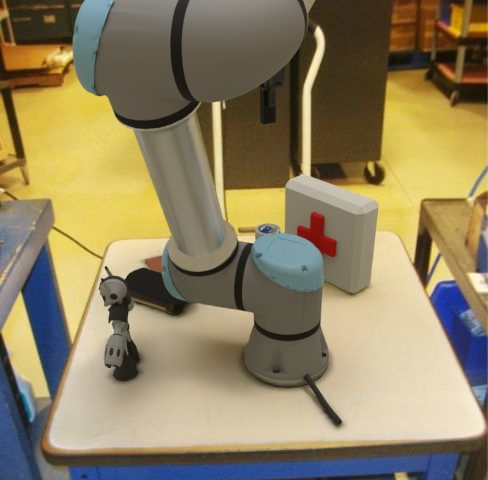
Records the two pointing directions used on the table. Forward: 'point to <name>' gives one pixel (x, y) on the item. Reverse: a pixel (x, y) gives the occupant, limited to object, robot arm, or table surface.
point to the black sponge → (152, 290)
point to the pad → (155, 264)
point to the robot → (119, 328)
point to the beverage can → (266, 230)
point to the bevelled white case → (334, 228)
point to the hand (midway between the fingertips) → (268, 122)
